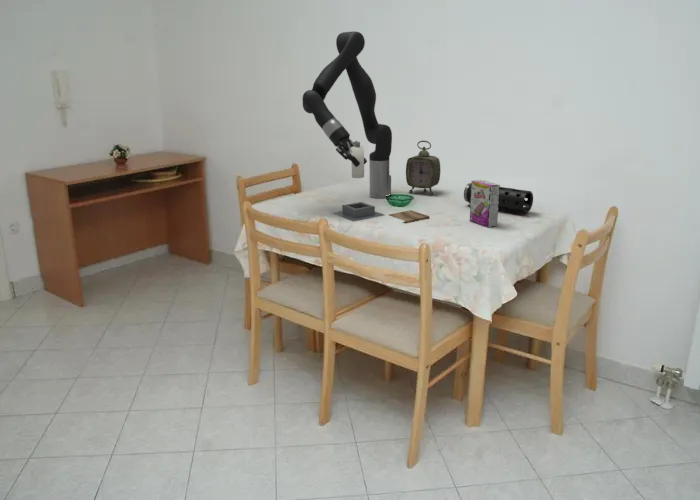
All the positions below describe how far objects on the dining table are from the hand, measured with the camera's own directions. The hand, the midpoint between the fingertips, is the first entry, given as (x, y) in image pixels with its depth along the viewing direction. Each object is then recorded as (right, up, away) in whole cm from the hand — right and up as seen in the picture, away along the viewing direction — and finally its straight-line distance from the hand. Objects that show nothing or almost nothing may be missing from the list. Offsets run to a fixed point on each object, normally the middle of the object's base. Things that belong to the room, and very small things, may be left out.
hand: (361, 164), depth 236 cm
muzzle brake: (+57, -18, +15) cm, 62 cm away
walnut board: (+19, -21, +4) cm, 29 cm away
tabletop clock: (+30, -8, +45) cm, 55 cm away
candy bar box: (+47, -24, -5) cm, 53 cm away
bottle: (-2, -5, +3) cm, 6 cm away
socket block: (-1, -20, +8) cm, 22 cm away
